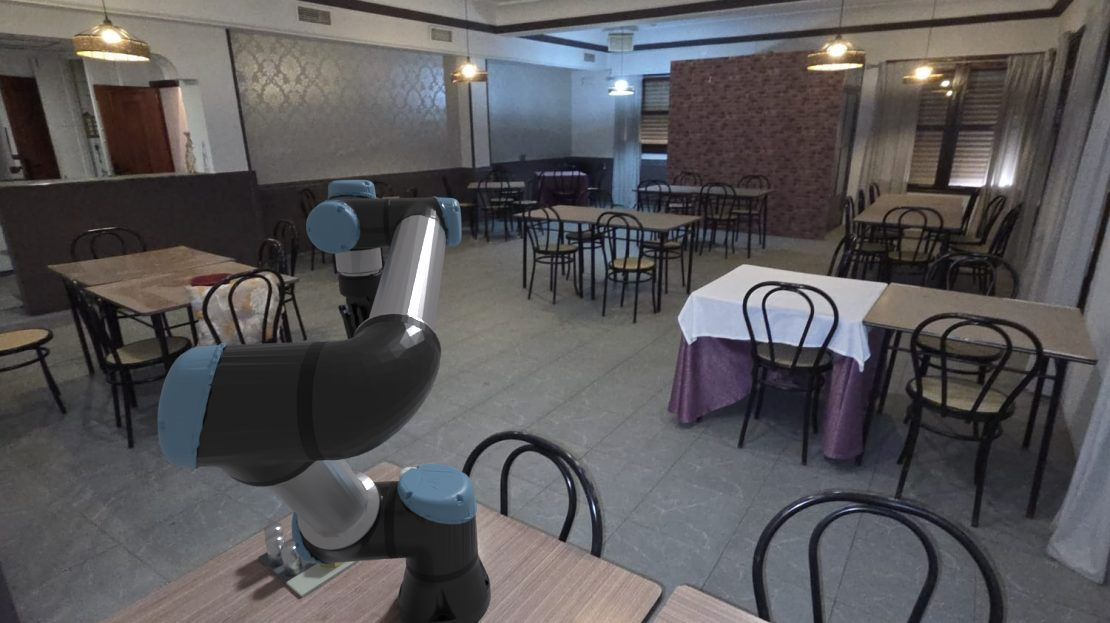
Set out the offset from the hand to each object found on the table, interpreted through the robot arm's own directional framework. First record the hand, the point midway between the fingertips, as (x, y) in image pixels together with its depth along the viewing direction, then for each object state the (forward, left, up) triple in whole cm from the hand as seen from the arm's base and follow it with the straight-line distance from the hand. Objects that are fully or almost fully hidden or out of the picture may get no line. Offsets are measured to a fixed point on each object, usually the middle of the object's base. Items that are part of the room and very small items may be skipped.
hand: (373, 395), depth 108 cm
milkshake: (0, -7, -29) cm, 29 cm away
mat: (+3, +13, -28) cm, 31 cm away
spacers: (+6, +13, -28) cm, 31 cm away
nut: (-1, +12, -28) cm, 30 cm away
